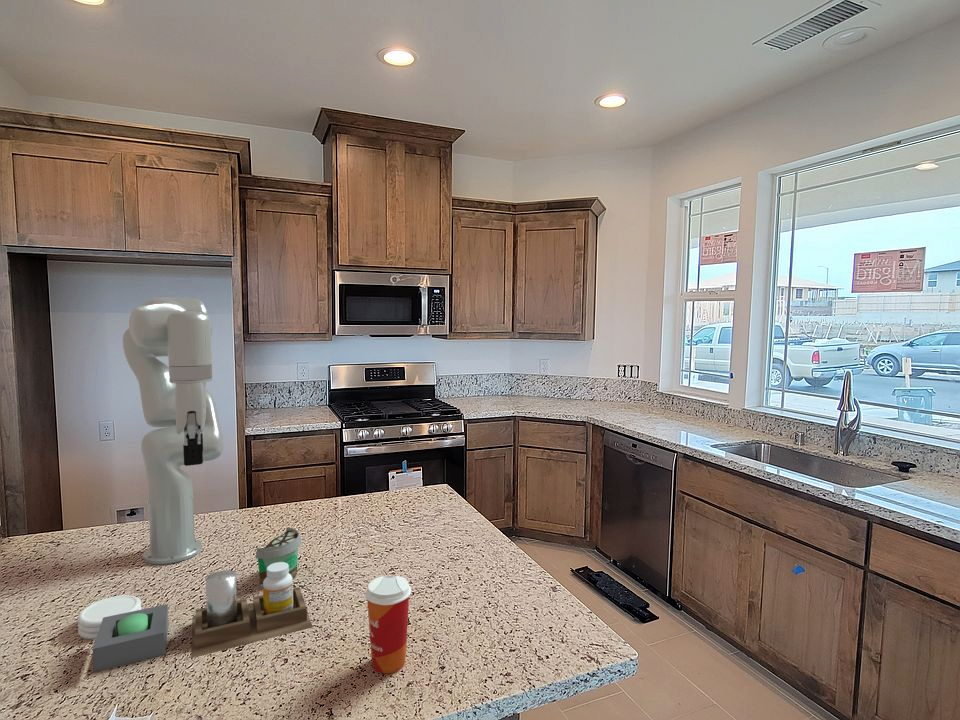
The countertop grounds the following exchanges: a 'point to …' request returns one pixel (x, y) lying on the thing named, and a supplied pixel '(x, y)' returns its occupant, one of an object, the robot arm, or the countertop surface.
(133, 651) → the gray square holder
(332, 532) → the countertop surface
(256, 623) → the double slot desk organizer
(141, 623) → the button
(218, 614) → the billet
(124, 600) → the round white lidded container
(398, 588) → the paper cup
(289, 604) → the supplement bottle
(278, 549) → the food container
